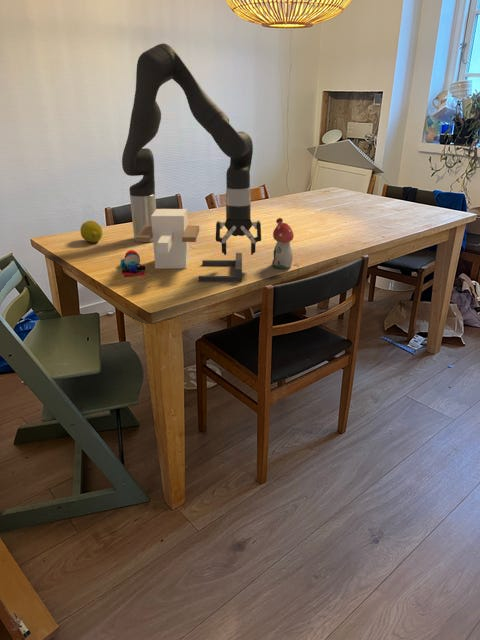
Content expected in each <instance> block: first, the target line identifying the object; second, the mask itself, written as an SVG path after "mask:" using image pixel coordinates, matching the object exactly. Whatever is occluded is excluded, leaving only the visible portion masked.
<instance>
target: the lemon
mask: <svg viewBox="0 0 480 640" xmlns="http://www.w3.org/2000/svg"><path fill="white" fill-rule="evenodd" d="M80 236H81V237H82V239H83V240H84V241H86V242H88V243H92V244H93V243H94V244H95V243H97V242H99V241H100V240H101V239H102V238H103V229H102V227H101V225H100V224H99V223H98V222H96V221H93V220H87V221H85V222H82V225H81V226H80Z"/></svg>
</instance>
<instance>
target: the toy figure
mask: <svg viewBox="0 0 480 640" xmlns="http://www.w3.org/2000/svg"><path fill="white" fill-rule="evenodd" d="M119 264H120V268H121V270H122V271H121V272H122V274H123V276H124V277H133V276H134V277H135V276H136V277H139V276H141V275H142V276H145V270H146V266H145V265H142V264H141V258H140V255H139V252H137V251H135V249H134V250H133V249H130V250H128V251H126V253H125V255H124V258H123V259H120V263H119ZM123 267H124V268H123ZM126 267H127V268H126ZM138 271H139V272H138ZM136 272H138V273H136ZM142 276H141V277H142Z"/></svg>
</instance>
